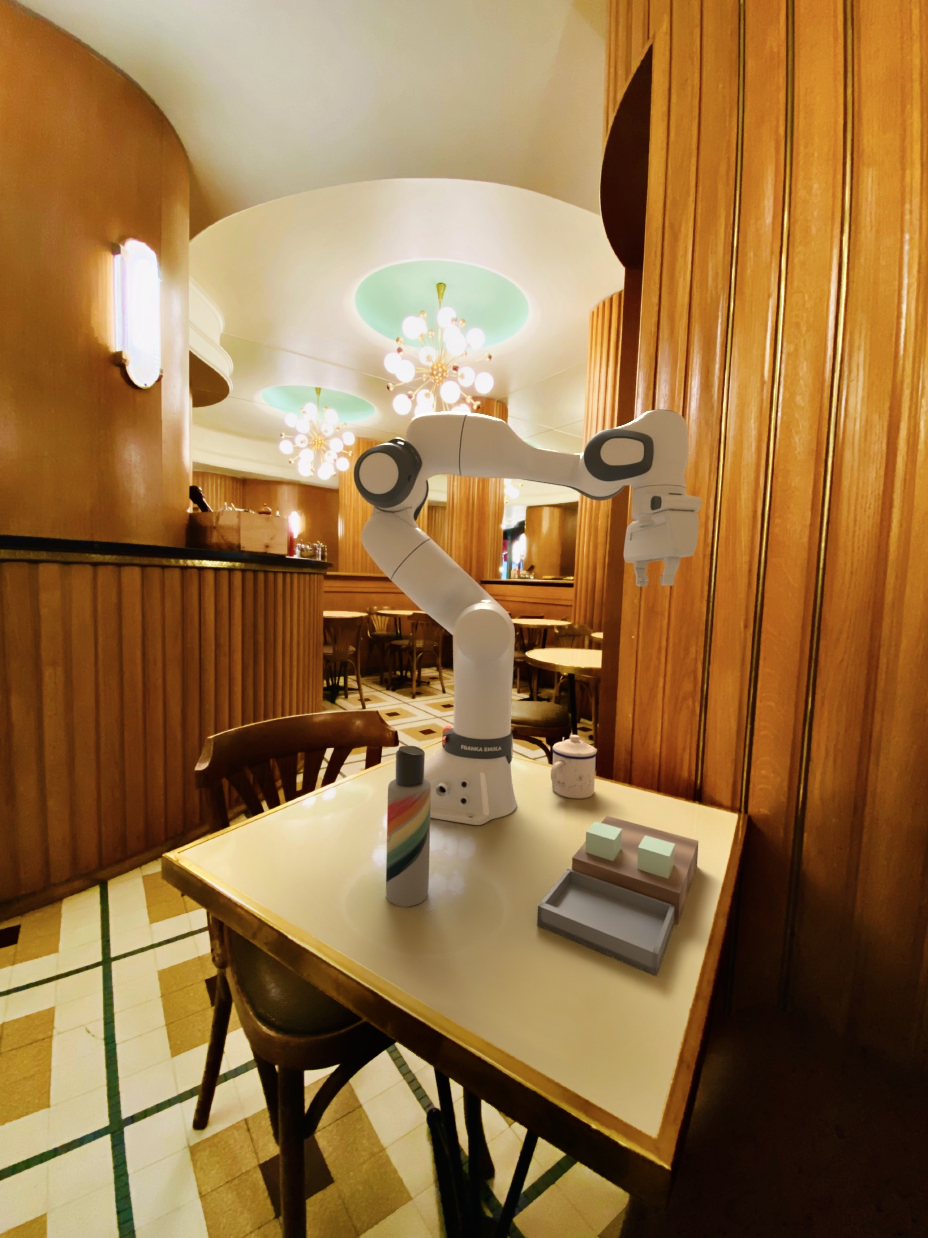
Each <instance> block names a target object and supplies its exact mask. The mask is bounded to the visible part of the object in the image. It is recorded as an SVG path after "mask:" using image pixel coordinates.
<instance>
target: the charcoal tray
mask: <svg viewBox="0 0 928 1238" xmlns="http://www.w3.org/2000/svg"><path fill="white" fill-rule="evenodd" d="M674 916H675V906H674V905H671V904H669V903H666V902H663V901H660V900H657V899H654V898H651V897H648V896H645V895H643V894H640V893H637V892H634V891H631V890H628V889H625V888H622V887H620V886H617V885H614V884H611V883H608V882H605V881H602V880H599V879H596V878H594V877H591V876H588V875H585V874H582V873H579V872H576V871H573V870H572V868H571V869H570V868H567V869H566V870H565V872H564V873H563V874H562V876H560V878H559V879H558V880H557V882H555V884H554V885H553V886H552V888H550V890H549V891H548V892H547V893H546V895H545V897H544V898H543V899H542V900H541V901H540V902H539V904H537V919H536V925H537V926H538V927H540V928H542V929H545V930H547V931H550V932H551V933H553V934H557V935H559V936H561V937H564V938H565V939H567V940H568V939H569V940H571V941H572V942H576V943H577V944H579V945H582V946H584V947H587V948H589V949H592V950H594V951H596V952H598V953H601V954H603V955H606V956H608V957H610V958H612V959H615V960H617V961H619V962H621V963H624V964H626V965H629V966H631V967H634V968H635V969H638V970H640V971H643V972H645V973H647V974H649V975H652V976H654V977H658V974H659V971H660V968H661V965H662V961H663V959H664V955H665V954H666V950H667V947H668V944H669V942H670V938H671V935H672V932H673V929H674V927H675V923H674Z"/></svg>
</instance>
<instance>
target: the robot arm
mask: <svg viewBox="0 0 928 1238" xmlns="http://www.w3.org/2000/svg"><path fill="white" fill-rule="evenodd" d="M689 449H690V448H689V431H688V426H687V422H686V420H685V418H684V416H683V415H681V414H679V413H678V412H676V411H673V410H669V409H662V408H661V409H659V408H658V409H652V410H648V411H645V412H643V413H642V414H641V415H640V416H638V417H637V418H636V419H634V420H632V421H630V422H628V423H626V424H623V425H621V426H616V427H613V428H607V429H603V430H600V431H599V432H597V433H595V434H594V435H593V436H592V437H591V438H590V439H589V441H588V442H587V444H586V446H585V448H584V450H583V451H582V452H580V453H572V452H566V451H565V452H564V451H560V450H559V451H558V450H552V449H545V448H539V447H535V446H533V445H531V444H530V443H528V442H526V441H524V440H523V439H522V438H521V437H520V436H519V435H518V434H517V433H516V432H515V431H514V429H513V428H512V427H510V425H509V424H508V423H507V422H506V421H504V420H503V419H501V418H497V417H494V416H489V415H486V414H481V413H473V412H472V413H471V412H463V411H461V412H460V411H440V412H439V411H438V412H427V413H421V414H420V413H419V414H418V415H415V416H414V417H413V418H411V421H410V422H409V424H408V426H407V428H406V433H405V437H404V439H403V438H401V437H394V438H392V439H391V440H388V441H386V442H384V443H382V444H378V445H375V446H372V447H370V448H368V449H366V450H365V451H364V452H362V453H361V454H360V456H359V457H358V459H356V462H355V464H354V466H353V467H354V468H353V481H354V484H355V486H356V487H355V488H356V490H357V492H358V493H359V494H360V496H361V497H362V498H363V499H364V500H365V502H367V503H369V504H370V505H371V506H372V514H371V516H370V517H369V518H368V519H367V521H366V522H365V523H364V525H363V526H362V527H363V528H362V530H361V533H360V540H361V544H362V546H363V548H364V549H365V551H366V553H367V554H368V555H369V556H370V559H372V561H373V562H374V563H375V564H376V565H377V566H378V568H379V569H380V571H382V573H384V575H385V576H386V577H387V578H388V579H389V580H391V582H392V583H393V584H394V585H396V586H397V587H398V589H400V590H401V592H403V593H404V594H405V595H406V597H408V598H409V599H410V600H411V601H412V603H413V604H415V605H416V606H417V607H418V608H419V609H420V610H421V611H422V612H424V613H425V614H427V615H428V616H429V617H431V619H432V620H434V621H435V622H436V623H438V624H439V625H440V626H441V627H442V628H443V629H445V630H446V631H447V632H448V633H449V634H450V635H452V651H453V652H452V658H453V659H452V660H453V661H452V663H453V664H452V668H453V687H454V691H453V693H454V694H453V695H454V696H453V725H452V726H451V725H445V726H444V728H443V730H442V738H441V740H442V741H441V744H442V745H441V747H442V748H440V749H439V750H437V751H436V752H434V753H433V754H431V755H430V756H429V757H427V758H426V759H425V760H424V779H426V780H427V781H429V783H430V784H431V809H430V819H437V820H443V821H449V822H454V823H460V824H466V825H474V826H480V825H481V826H482V825H483V824H486V823H488V822H489V821H491V820H494V819H499V818H503V817H505V816H507V815H508V816H509V814H511V813H513V812H514V811H515V810H516V808H517V805H518V803H517V800H516V795H515V789H514V784H513V779H512V767H511V766H512V764H511V763H512V760H513V753H514V736H513V732H512V730H511V729H512V728H511V725H512V698H513V694H512V693H513V679H514V664H515V663H514V659H515V658H514V657H515V641H516V640H515V638H516V637H515V636H516V632H515V625H514V622H513V620H512V618H511V616H510V614H509V613H508V611H507V610H506V609H505V608H504V607H503V606H502V605H501V604H500V603H499V602H498V601H497V600H496V599H495V598H494V597H492V595H490V594H489V593H488V592H487V591H486V590H485V589H484V588H483V587H482V586H481V585H480V584H479V583H478V582H477V581H476V580H475V579H474V578H472V576H470V574H468V573H467V572H466V571H465V570H464V569H463V568H462V567H461V566H460V565H459V564H458V563H457V562H456V561H455V560H453V558H452V557H451V556H449V554H448V553H446V552H445V551H444V549H443V548H442V547H440V546H439V545H438V543H436V542H435V541H434V540H433V539H432V538H431V537H430V536H429V535H428V534H427V533H426V532H425V531H424V530H422V528H421V527H420V526H419V525H418V524H417V522H416V521H417V520H418V518H419V516H420V513H421V511H422V509H423V507H424V505H425V504H426V501H427V499H428V496H429V488H430V487H429V481H428V480H429V479H430V478H432V477H434V476H438V475H451V476H457V477H466V478H479V479H482V478H483V479H507V480H510V479H511V480H523V481H529V482H535V483H541V484H542V483H543V484H548V485H555V486H561V487H566V488H570V489H571V490H574V491H576V492H577V493H579V494H581V495H582V496H584V497H586V498H587V499H589V500H592V501H593V500H594V501H600V502H601V501H607V500H610V499H613V498H615V497H616V496H618V495H619V494H620V493H621V492H622V491H623V490H624V488H625V487H626V486H630V487H632V493H631V494H632V496H631V497H632V498H631V499H632V500H631V518H632V522H631V523H629V524H628V526H627V528H626V530H625V531H626V532H625V539H624V546H623V559H624V562H625V563H626V564H627V563H629V564H630V563H632V564H633V571H634V574H635V586H637V587H648V586H649V578H650V577H649V576H648V575H647V569H648V563H651V562H659V561H663V565H664V567H663V572H662V574H660V577H659V579H660V581H659V584H660V586H663V587H664V586H665V587H666V586H667V587H672V586H674V585H675V581H676V580H675V579H676V578H675V577H676V574H677V572H678V569H679V567H680V565H681V559H682V558H688V557H693V556H694V554H695V552H696V549H697V546H698V539H699V538H698V537H699V528H700V518H699V514H698V512H699V511H700V510H701V509H702V502H703V501H702V498H701V497H699V496H694V495H690V494H687V488H688V487H687V483H686V470H687V468H688V464H689Z"/></svg>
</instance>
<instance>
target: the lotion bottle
mask: <svg viewBox="0 0 928 1238" xmlns="http://www.w3.org/2000/svg"><path fill="white" fill-rule="evenodd" d="M425 755H426V754H425V750H423V749H422V748H421V747H419V746H416V745H415V746H414V745H401V746H399V747H398V749H397V751H396V752H395V779H393V780H391V781H390V782H389V783H388V785H387V808H386V809H387V813H386V814H387V816H386V818H387V819H386V821H387V822H386V825H387V826H386V858H385V859H386V862H385V863H386V866H385V867H386V868H385V871H386V872H385V873H386V876H385V893H386V894H385V895H386V898H387V899H388V901H389V902H390V904H393V905H395V906H397V907H404V908H405V907H406V908H407V907H412V906H417V905H419V904H421V903H422V902H423V901H425V900H426V899H427V896H428V894H429V883H430V882H429V880H430V847H431V845H430V842H431V839H430V838H431V837H430V836H431V818H430V809H431V784H430V783H429V781H427V780H426V779H424V760H426V759H425Z"/></svg>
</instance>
